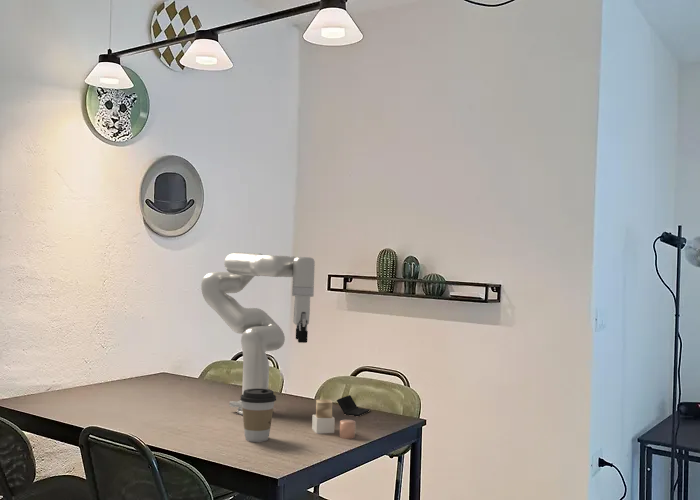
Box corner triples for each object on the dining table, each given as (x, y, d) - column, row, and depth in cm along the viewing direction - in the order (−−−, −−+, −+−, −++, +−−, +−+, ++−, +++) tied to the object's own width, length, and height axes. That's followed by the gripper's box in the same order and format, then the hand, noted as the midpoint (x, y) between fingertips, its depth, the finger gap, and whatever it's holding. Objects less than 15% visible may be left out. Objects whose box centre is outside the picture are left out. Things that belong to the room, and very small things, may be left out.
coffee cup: (276, 443, 210) (278, 394, 210) (239, 444, 207) (241, 394, 208) (273, 434, 221) (274, 387, 221) (237, 434, 218) (239, 387, 219)
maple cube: (316, 417, 225) (317, 402, 225) (315, 414, 230) (316, 399, 230) (331, 418, 225) (332, 402, 225) (330, 414, 230) (331, 399, 230)
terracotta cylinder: (340, 439, 218) (341, 423, 218) (338, 435, 223) (339, 419, 223) (356, 438, 218) (356, 423, 219) (353, 434, 223) (354, 419, 224)
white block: (316, 433, 224) (317, 418, 224) (312, 429, 229) (312, 414, 229) (334, 433, 225) (334, 417, 226) (329, 428, 231) (329, 414, 231)
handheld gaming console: (363, 413, 250) (349, 389, 253) (348, 423, 251) (334, 400, 254) (372, 411, 261) (358, 389, 264) (357, 422, 262) (343, 399, 265)
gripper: (290, 290, 248) (288, 338, 248) (294, 292, 231) (292, 343, 231) (311, 291, 249) (309, 338, 249) (316, 293, 232) (314, 344, 232)
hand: (301, 340), depth 240 cm, fingers open, 9 cm apart
